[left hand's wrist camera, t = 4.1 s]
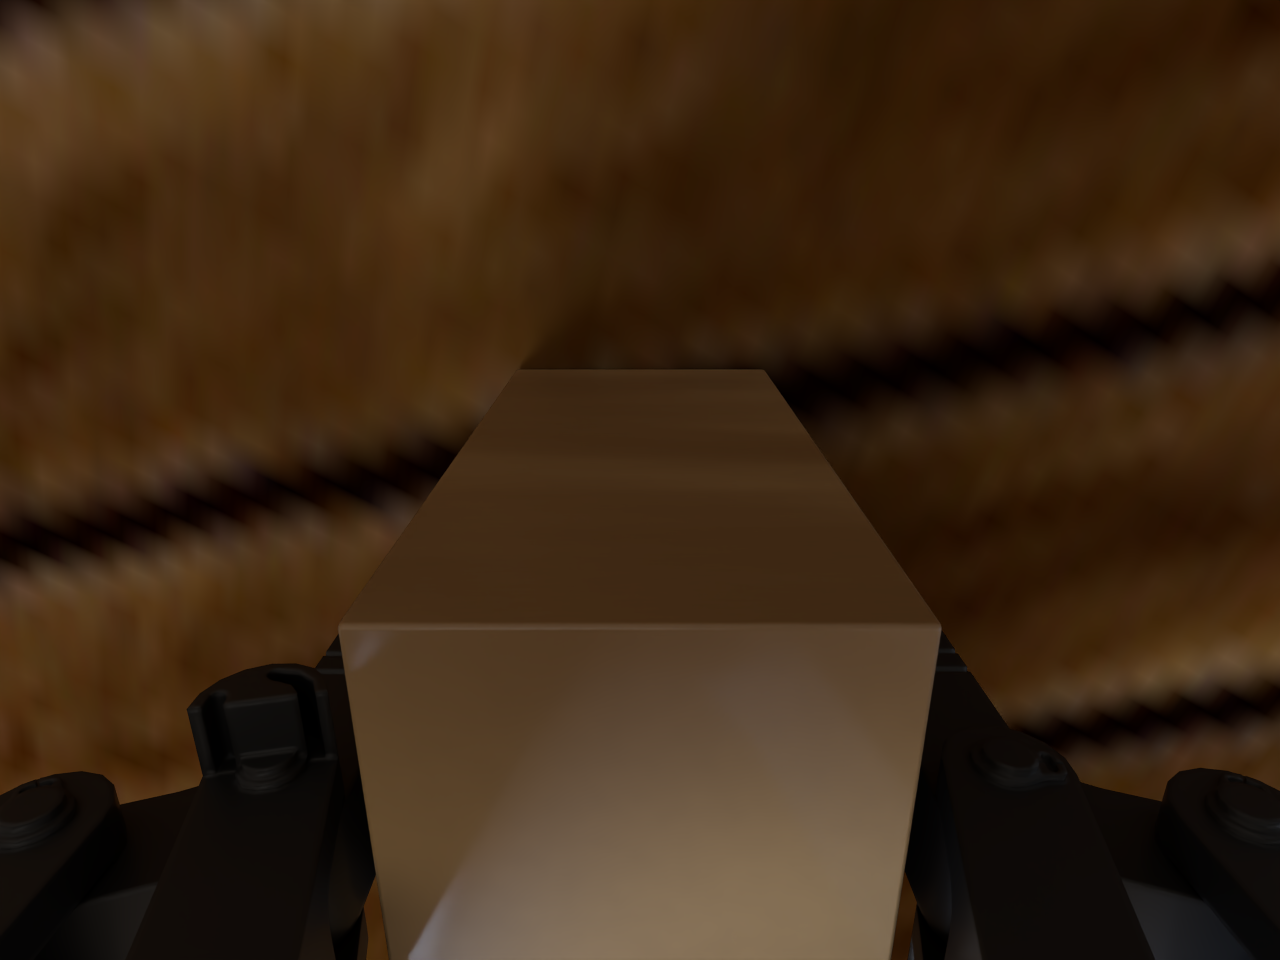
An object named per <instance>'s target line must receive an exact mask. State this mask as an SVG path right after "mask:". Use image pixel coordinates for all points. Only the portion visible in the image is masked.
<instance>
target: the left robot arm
mask: <svg viewBox="0 0 1280 960" xmlns="http://www.w3.org/2000/svg"><path fill="white" fill-rule="evenodd" d="M187 712H188V716H189V720H190V724H191V728H192V733H193V737H194V741H195V745H196V749H197V753H198V757H199V762H200V766H201V770H202V774H203V777H202V780H201V782H200V784H199V786H197V787H194V788H190V789H187V790H183V791H180V792H176V793H171V794H167V795H162V796H158V797H153V798H149V799H144V800H139V801H135V802H130V803H126V804H121V805H120V804H119V801H118V797H117V794H116V790H115V787H114V785H113V784H112V783H111V782H110V781H109V780H108V779H107V778H105V777H104V776H103V775H100V774H95V773H89V772H83V771H79V772H71V773H62V774H54V775H51V776H47V777H43V778H40V779H38V780H33V781H30V782H27V783H25V784H22V785H20V786H18V787H16V788H14V789H12V790H10V791H8V792H6V793H4V794H2V795H0V960H366V954H367V945H368V933H367V925H366V919H365V912H364V904H365V901H366V899H367V896H368V893H369V891H370V888H371V886H372V883H373V880H374V878H375V875H376V871H375V865H374V858H373V852H372V845H371V839H370V832H369V826H368V819H367V813H366V806H365V800H364V793H363V787H362V781H361V774H360V768H359V761H358V755H357V748H356V742H355V735H354V729H353V722H352V716H351V709H350V703H349V696H348V690H347V683H346V677H345V670H344V664H343V657H342V651H341V644H340V638H339V634H338V635H337V637H336V638H335V640H334V641H333V643H332V644H331V646H330V647H329V649H328V650H327V652H326V656H323V657H322V659H321V660H320V662H319V663H318V665H317V666H316V668H311V667H308V666H304V665H300V664H269V665H265V666H260V667H255V668H251V669H246V670H243V671H241V672H238V673H236V674H234V675H231V676H229V677H226V678H224V679H221V680H219V681H218V682H216V683H215V684H213V685H212V686H210V687H209V688H207V689H206V690H204V691H203V692H201V693H200V694H199V695H198V696H197V698H196V699H195V700H194V701H193V702H192V704H191V705H190V706H189V707H188V708H187ZM905 872H906V875H907V878H908V880H909V883H910V885H911V888H912V890H913V893H914V896H915V898H916V901H917V906H916V912H915V919H914V925H913V931H912V937H911V943H910V949H909V955H908V960H1280V791H1279V790H1277V789H1275V788H1273V787H1271V786H1269V785H1267V784H1264V783H1263V782H1261V781H1258V780H1256V779H1253V778H1250V777H1247V776H1246V777H1245V776H1242V775H1241V774H1236V773H1232V772H1229V771H1223V770H1214V769H1205V768H1197V769H1191V770H1185V771H1179V772H1178V773H1177V774H1176V775H1175V776H1174V777H1172V778H1171V779H1170V780H1169V781H1168V783H1167V786H1166V789H1165V793H1164V796H1163V800H1162V802H1161V801H1157V800H1152V799H1147V798H1143V797H1138V796H1134V795H1129V794H1124V793H1120V792H1115V791H1111V790H1106V789H1102V788H1098V787H1095V786H1091V785H1088V784H1084V783H1081V782H1080V781H1079V778H1078V776H1077V774H1076V773H1075V771H1074V770H1073V769H1072V767H1071V766H1070V764H1069V763H1068V762H1067V760H1066V759H1065V758H1064V757H1063V756H1062V755H1060V754H1059V753H1058V752H1056V751H1055V750H1054V749H1052V748H1051V747H1050V746H1048V745H1047V744H1046V743H1044V742H1042V741H1040V740H1038V739H1035V738H1033V737H1031V736H1029V735H1027V734H1025V733H1022V732H1019V731H1015V730H1011V729H1009V727H1008V726H1007V724H1006V723H1005V722H1004V720H1003V719H1002V717H1001V716H1000V714H999V713H998V711H997V710H996V708H995V707H994V706H993V704H992V703H991V701H990V700H989V698H988V697H987V695H986V694H985V692H984V691H983V690H982V688H981V687H980V685H979V684H978V682H977V681H976V679H975V678H974V676H973V675H972V674H971V672H967V666H966V665H965V663H964V662H963V660H962V659H961V658H960V656H959V655H958V654H955V649H954V647H953V646H952V644H951V643H950V642H949V640H948V639H947V637H946V636H945V634H944V633H943V631H942V630H941V636H940V642H939V649H938V655H937V662H936V668H935V675H934V681H933V688H932V694H931V701H930V707H929V714H928V720H927V727H926V733H925V740H924V746H923V753H922V759H921V766H920V772H919V779H918V785H917V792H916V798H915V805H914V811H913V818H912V825H911V831H910V838H909V844H908V851H907V857H906V864H905Z"/></svg>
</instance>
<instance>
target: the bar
mask: <svg viewBox="0 0 1280 960" xmlns="http://www.w3.org/2000/svg"><path fill="white" fill-rule="evenodd" d="M941 629H942V627H941V624H940V622H939V621H938V619H937V618H936V617H935V615H934V614H933V612H932V611H931V609H930V608H929V606H928V605H927V604H926V602H925V601H924V599H923V598H922V596H921V595H920V594H919V592H918V591H917V589H916V588H915V586H914V585H913V583H912V582H911V581H910V579H909V578H908V576H907V575H906V573H905V572H904V571H903V569H902V568H901V566H900V565H899V563H898V562H897V560H896V559H895V558H894V556H893V555H892V553H891V552H890V550H889V549H888V547H887V546H886V545H885V543H884V542H883V540H882V539H881V537H880V536H879V535H878V533H877V532H876V530H875V529H874V527H873V526H872V524H871V523H870V522H869V520H868V519H867V517H866V516H865V514H864V513H863V512H862V510H861V509H860V507H859V506H858V504H857V503H856V501H855V500H854V499H853V497H852V496H851V494H850V493H849V491H848V490H847V488H846V487H845V486H844V484H843V483H842V481H841V480H840V478H839V477H838V476H837V474H836V473H835V471H834V470H833V468H832V467H831V465H830V464H829V463H828V461H827V460H826V458H825V457H824V455H823V454H822V453H821V451H820V450H819V448H818V447H817V445H816V444H815V442H814V441H813V440H812V438H811V437H810V435H809V434H808V432H807V431H806V430H805V428H804V427H803V425H802V424H801V422H800V421H799V419H798V418H797V417H796V415H795V414H794V412H793V411H792V409H791V408H790V406H789V405H788V404H787V402H786V401H785V399H784V398H783V396H782V395H781V394H780V392H779V391H778V389H777V388H776V386H775V385H774V383H773V382H772V381H771V379H770V378H769V376H768V375H767V373H766V372H765V371H764V370H762V369H519V370H517V371H516V372H515V373H514V375H513V376H512V378H511V379H510V381H509V382H508V383H507V385H506V386H505V388H504V389H503V391H502V392H501V393H500V395H499V396H498V398H497V399H496V401H495V402H494V403H493V405H492V406H491V408H490V409H489V410H488V412H487V413H486V415H485V416H484V418H483V419H482V420H481V422H480V423H479V425H478V426H477V428H476V429H475V430H474V432H473V433H472V435H471V436H470V438H469V439H468V440H467V442H466V443H465V445H464V446H463V448H462V449H461V450H460V452H459V453H458V455H457V456H456V458H455V459H454V460H453V462H452V463H451V465H450V466H449V468H448V469H447V470H446V472H445V473H444V475H443V476H442V477H441V479H440V480H439V482H438V483H437V485H436V486H435V487H434V489H433V490H432V492H431V493H430V495H429V496H428V497H427V499H426V500H425V502H424V503H423V505H422V506H421V507H420V509H419V510H418V512H417V513H416V515H415V516H414V517H413V519H412V520H411V522H410V523H409V525H408V526H407V527H406V529H405V530H404V532H403V533H402V535H401V536H400V537H399V539H398V540H397V542H396V543H395V544H394V546H393V547H392V549H391V550H390V552H389V553H388V554H387V556H386V557H385V559H384V560H383V562H382V563H381V564H380V566H379V567H378V569H377V570H376V572H375V573H374V574H373V576H372V577H371V579H370V580H369V582H368V583H367V584H366V586H365V587H364V589H363V590H362V592H361V593H360V594H359V596H358V597H357V599H356V600H355V602H354V603H353V604H352V606H351V607H350V609H349V610H348V611H347V613H346V614H345V616H344V617H343V619H342V620H341V621H340V623H339V626H338V631H339V638H340V644H341V651H342V657H343V664H344V670H345V677H346V683H347V690H348V696H349V703H350V709H351V716H352V722H353V729H354V735H355V742H356V748H357V755H358V761H359V768H360V774H361V781H362V787H363V793H364V800H365V806H366V813H367V819H368V826H369V832H370V839H371V845H372V852H373V858H374V865H375V871H376V878H377V884H378V891H379V897H380V904H381V910H382V917H383V923H384V930H385V936H386V943H387V949H388V955H389V960H891V955H892V948H893V942H894V935H895V929H896V922H897V916H898V909H899V903H900V896H901V890H902V883H903V877H904V870H905V864H906V857H907V851H908V844H909V838H910V831H911V825H912V818H913V811H914V805H915V798H916V792H917V785H918V779H919V772H920V766H921V759H922V753H923V746H924V740H925V733H926V727H927V720H928V714H929V707H930V701H931V694H932V688H933V681H934V675H935V668H936V662H937V655H938V649H939V642H940V636H941Z"/></svg>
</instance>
